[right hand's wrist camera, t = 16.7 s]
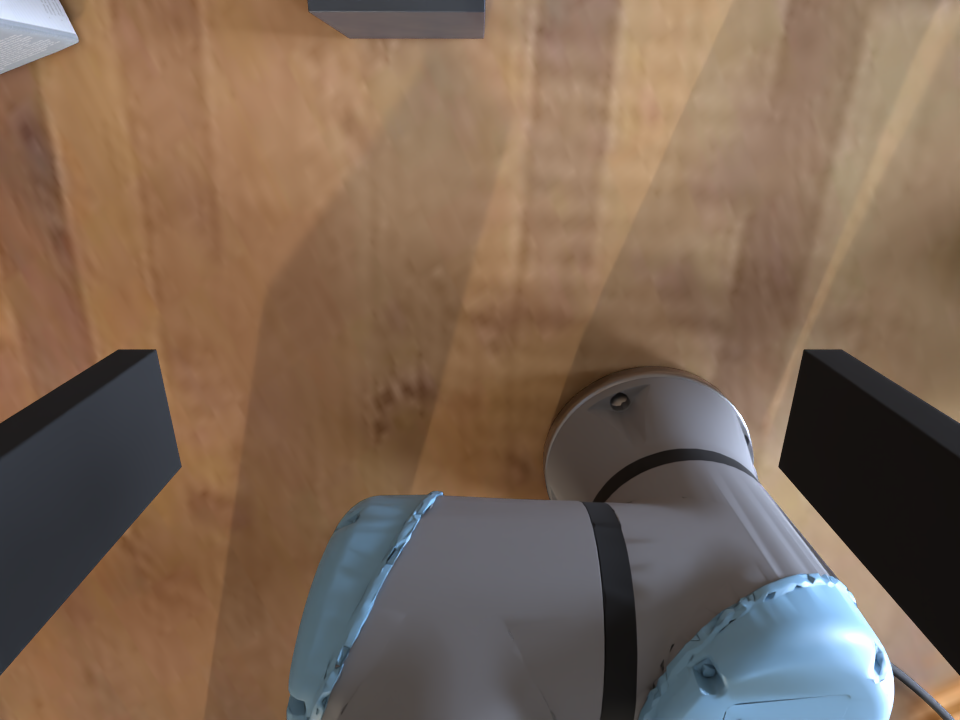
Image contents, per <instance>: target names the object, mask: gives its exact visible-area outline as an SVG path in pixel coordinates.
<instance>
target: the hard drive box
mask: <svg viewBox="0 0 960 720" xmlns="http://www.w3.org/2000/svg"><path fill="white" fill-rule="evenodd" d="M78 41H79V40H78V37H77V35H76V33H75V31H74V29H73V27H72V25H71V23H70V21H69V19H68V17H67V15H66V13H65V11H64V9H63V7H62V5H61V3H60V1H59V0H0V74H2V73H4V72H7V71H9V70H12V69H14V68H17V67H20V66H22V65H25V64H27V63H30V62H32V61H35V60H37V59H40V58H42V57H45V56H47V55H50V54H52V53H55V52H58V51H60V50H62V49H64V48H67V47H69V46H71V45H73V44H76V43H78Z"/></svg>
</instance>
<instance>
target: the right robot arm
mask: <svg viewBox="0 0 960 720" xmlns="http://www.w3.org/2000/svg"><path fill="white" fill-rule="evenodd" d="M753 463H754V459H753V450H752V444H751V438H750V435H749V431H748V429H747V426H746V424H745V422H744V420H743V419H742V417H741V415H740V414H739V413H738V411H737V410H736V408H735V407H734V406H733V405H732V404H731V403H730V402H729V401H728V400H727V398H726V397H725V396H724V395H723V394H722V393H721V392H720V391H719V390H718V389H717V388H715V387H714V386H713V385H712V384H710V383H709V382H707V381H706V380H704V379H702V378H700V377H698V376H696V375H694V374H691V373H689V372H686V371H682V370H679V369H674V368H668V367H638V368H632V369H627V370H623V371H619V372H616V373H613V374H611V375H608V376H606V377H603V378H601V379H599V380H597V381H595V382H594V383H592V384H590V385H589V386H587V387H586V388H584V389H583V390H582V391H580V392H579V393H578V394H577V395H575V396H574V397H573V398H572V399H571V400H570V401H569V402H568V403H567V404H566V405H565V407H564V408H563V409H562V410H561V412H560V413H559V414H558V416H557V418H556V419H555V421H554V423H553V425H552V426H551V428H550V431H549V433H548V436H547V439H546V443H545V447H544V453H543V469H544V476H545V481H546V487H547V492H548V495H549V498H550V500H529V499H503V498H482V497H461V496H444V495H443V492H439V491H433V492H431V493H429V494H428V495H381V496H373V497H369V498H367V499H364V500H362V501H360V502H359V503H357V504H356V505H355V506H354V507H352V508H351V509H350V510H349V511H348V512H347V513H346V514H345V516H344V517H343V518H342V520H341V521H340V523H339V524H338V526H337V527H336V529H335V531H334V533H333V535H332V536H331V538H330V540H329V542H328V545H327V547H326V549H325V551H324V553H323V556H322V558H321V561H320V563H319V565H318V568H317V571H316V574H315V577H314V579H313V582H312V585H311V588H310V592H309V595H308V598H307V601H306V605H305V608H304V612H303V615H302V619H301V623H300V627H299V631H298V635H297V640H296V644H295V649H294V653H293V658H292V664H291V669H290V676H289V692H290V698H289V703H288V707H287V720H889V717H890V714H891V710H892V706H893V699H894V678H893V675H894V676H895V677H897V678H898V679H899V680H900V681H902V682H903V683H904V684H905V685H907V686H908V687H909V688H910V689H911V690H913V691H914V692H915V693H916V694H917V695H918V696H919V697H921V698H922V699H923V700H924V701H925V702H926V703H927V704H928V705H929V706H930V707H931V708H933V709H934V710H935V711H936V712H937V713H938V714H939V715H940V716H941V717H942V719H943V720H955V719H954V718H953V717H952V716H951V715H950V714H949V713H948V712H947V711H946V710H945V709H944V708H943V707H942V706H941V705H940V704H939V703H938V702H937V701H936V700H935V699H934V698H933V697H932V696H930V695H929V694H928V693H927V692H926V691H925V690H924V689H923V688H922V687H920V686H919V685H918V684H917V683H916V682H915V681H914V680H912V679H911V678H910V677H909V676H908V675H906V674H905V673H904V672H903V671H901V670H900V669H899V668H897V667H896V666H895V665H894V664H892V663H891V662H890V661H889V659H888V656H887V654H886V652H885V649H884V647H883V646H882V644H881V643H880V641H879V639H878V638H877V636H876V635H875V633H874V632H873V630H872V629H871V627H870V626H869V625H868V623H867V622H866V620H865V619H864V617H863V616H862V614H861V613H860V611H859V610H858V608H857V604H856V601H855V599H854V597H853V595H852V593H851V592H849V591H848V589H847V587H846V586H845V585H843V584H842V583H841V582H840V580H839V579H838V578H837V577H836V576H835V574H834V573H833V572H832V571H831V569H830V568H829V567H828V566H827V565H826V563H825V562H824V561H823V560H822V558H821V557H820V556H819V555H818V554H817V552H816V551H815V550H814V549H813V547H812V546H811V545H810V544H809V543H808V541H807V540H806V539H805V538H804V536H803V535H802V534H801V533H800V532H799V530H798V529H797V528H796V527H795V525H794V524H793V523H792V522H791V521H790V519H789V518H788V517H787V516H786V514H785V513H784V512H783V511H782V510H781V508H780V507H779V506H778V505H777V503H776V502H775V501H774V500H773V499H772V497H771V496H770V495H769V494H768V492H767V491H766V490H765V489H764V488H763V486H762V485H761V484H760V483H759V481H758V477H757V472H756V470H755V468H754V466H753ZM180 468H181V462H180V457H179V453H178V448H177V443H176V439H175V434H174V430H173V425H172V420H171V416H170V411H169V407H168V402H167V397H166V393H165V388H164V383H163V379H162V374H161V370H160V365H159V360H158V356H157V351H156V350H117V351H115V352H114V353H112V354H110V355H109V356H107V357H106V358H104V359H103V360H101V361H99V362H98V363H96V364H95V365H93V366H91V367H90V368H88V369H87V370H85V371H83V372H82V373H80V374H79V375H77V376H75V377H74V378H72V379H71V380H69V381H67V382H66V383H64V384H63V385H61V386H59V387H58V388H56V389H55V390H53V391H51V392H50V393H48V394H47V395H45V396H43V397H42V398H40V399H39V400H37V401H35V402H34V403H32V404H31V405H29V406H27V407H26V408H24V409H23V410H21V411H19V412H18V413H16V414H15V415H13V416H11V417H10V418H8V419H7V420H5V421H3V422H2V423H0V675H1V674H2V673H3V672H4V671H5V669H6V668H7V667H8V666H9V665H10V664H11V663H12V661H13V660H14V659H15V658H16V657H17V656H18V655H19V653H20V652H21V651H22V650H23V649H24V648H25V646H26V645H27V644H28V643H29V642H30V641H31V640H32V638H33V637H34V636H35V635H36V634H37V633H38V631H39V630H40V629H41V628H42V627H43V626H44V625H45V623H46V622H47V621H48V620H49V619H50V618H51V617H52V615H53V614H54V613H55V612H56V611H57V610H58V608H59V607H60V606H61V605H62V604H63V603H64V602H65V600H66V599H67V598H68V597H69V596H70V595H71V594H72V592H73V591H74V590H75V589H76V588H77V587H78V585H79V584H80V583H81V582H82V581H83V580H84V579H85V577H86V576H87V575H88V574H89V573H90V572H91V570H92V569H93V568H94V567H95V566H96V565H97V564H98V562H99V561H100V560H101V559H102V558H103V557H104V556H105V554H106V553H107V552H108V551H109V550H110V549H111V547H112V546H113V545H114V544H115V543H116V542H117V541H118V539H119V538H120V537H121V536H122V535H123V534H124V533H125V531H126V530H127V529H128V528H129V527H130V526H131V524H132V523H133V522H134V521H135V520H136V519H137V518H138V516H139V515H140V514H141V513H142V512H143V511H144V509H145V508H146V507H147V506H148V505H149V504H150V503H151V501H152V500H153V499H154V498H155V497H156V496H157V495H158V493H159V492H160V491H161V490H162V489H163V488H164V486H165V485H166V484H167V483H168V482H169V481H170V480H171V478H172V477H173V476H174V475H175V474H176V473H177V471H178V470H179V469H180ZM779 468H780V469H781V470H782V472H783V473H784V474H785V475H786V476H787V477H788V478H789V480H790V481H791V482H792V483H793V484H794V485H795V486H796V488H797V489H798V490H799V491H800V492H801V493H802V495H803V496H804V497H805V498H806V499H807V500H808V501H809V503H810V504H811V505H812V506H813V507H814V508H815V509H816V511H817V512H818V513H819V514H820V515H821V516H822V518H823V519H824V520H825V521H826V522H827V523H828V524H829V526H830V527H831V528H832V529H833V530H834V531H835V533H836V534H837V535H838V536H839V537H840V538H841V539H842V541H843V542H844V543H845V544H846V545H847V546H848V547H849V549H850V550H851V551H852V552H853V553H854V554H855V556H856V557H857V558H858V559H859V560H860V561H861V562H862V564H863V565H864V566H865V567H866V568H867V569H868V570H869V572H870V573H871V574H872V575H873V576H874V577H875V579H876V580H877V581H878V582H879V583H880V584H881V585H882V587H883V588H884V589H885V590H886V591H887V592H888V594H889V595H890V596H891V597H892V598H893V599H894V600H895V602H896V603H897V604H898V605H899V606H900V607H901V608H902V610H903V611H904V612H905V613H906V614H907V615H908V617H909V618H910V619H911V620H912V621H913V622H914V623H915V625H916V626H917V627H918V628H919V629H920V630H921V631H922V633H923V634H924V635H925V636H926V637H927V638H928V640H929V641H930V642H931V643H932V644H933V645H934V646H935V648H936V649H937V650H938V651H939V652H940V653H941V655H942V656H943V657H944V658H945V659H946V660H947V661H948V663H949V664H950V665H951V666H952V667H953V668H954V669H955V671H956V672H957V673H958V674H959V675H960V423H958V422H957V421H955V420H953V419H952V418H950V417H949V416H947V415H945V414H944V413H942V412H941V411H939V410H937V409H936V408H934V407H933V406H931V405H929V404H928V403H926V402H925V401H923V400H921V399H920V398H918V397H917V396H915V395H913V394H912V393H910V392H909V391H907V390H905V389H904V388H902V387H901V386H899V385H897V384H896V383H894V382H893V381H891V380H889V379H888V378H886V377H885V376H883V375H881V374H880V373H878V372H877V371H875V370H873V369H872V368H870V367H869V366H867V365H865V364H864V363H862V362H861V361H859V360H857V359H856V358H854V357H853V356H851V355H850V354H848V353H846V352H845V351H843V350H804V351H803V356H802V360H801V365H800V370H799V374H798V379H797V383H796V388H795V393H794V397H793V402H792V407H791V411H790V416H789V420H788V425H787V430H786V434H785V439H784V443H783V448H782V453H781V457H780V462H779Z"/></svg>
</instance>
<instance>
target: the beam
mask: <svg viewBox="0 0 960 720" xmlns="http://www.w3.org/2000/svg"><path fill="white" fill-rule="evenodd" d="M308 11H309V12H310V13H311V14H313V15H314V16H316V17H317V18H319V19H321V20H322V21H324V22H325V23H327V24H328V25H330V26H331V27H333V28H334V29H336V30H337V31H339V32H340V33H342V34H344V35H345V36H347V37H348V38H484V24H485V0H308Z"/></svg>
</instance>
